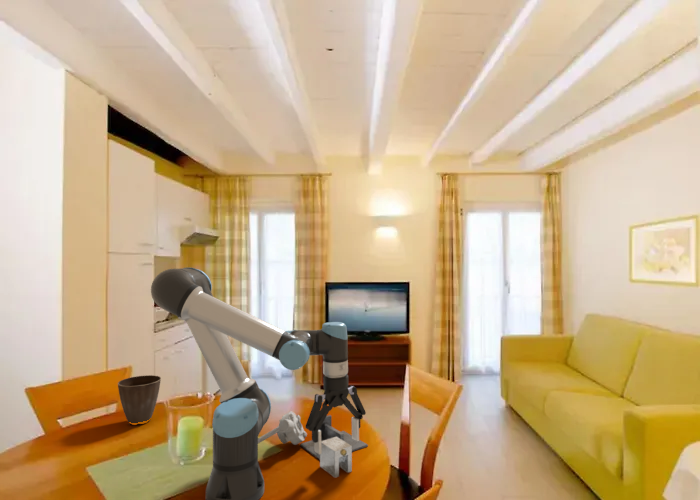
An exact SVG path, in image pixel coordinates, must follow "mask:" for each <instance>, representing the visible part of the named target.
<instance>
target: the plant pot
mask: <svg viewBox="0 0 700 500" xmlns="http://www.w3.org/2000/svg"><path fill="white" fill-rule="evenodd" d="M161 380H162V378H161V376H158V375H152V374H151V375H146V374H145V375H137V376H131V377H128V378H123V379H122V380H120V381H118V382H117V388H118V393H119V399H120V403H121V408H122V410H123V413H124V416H125V418H126V420H127V422H131V423H138V422H143V421H147V420H149V419H150V418H151V419H152V416H153V414H154V411H155V408H156V405H157V401H158V397H159V391H160V387H161Z"/></svg>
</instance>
